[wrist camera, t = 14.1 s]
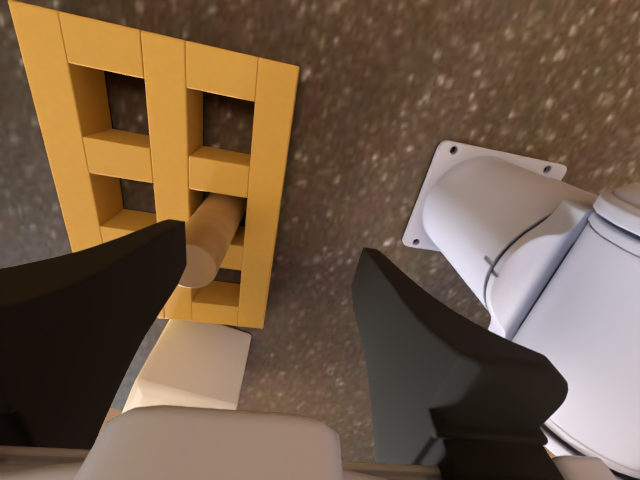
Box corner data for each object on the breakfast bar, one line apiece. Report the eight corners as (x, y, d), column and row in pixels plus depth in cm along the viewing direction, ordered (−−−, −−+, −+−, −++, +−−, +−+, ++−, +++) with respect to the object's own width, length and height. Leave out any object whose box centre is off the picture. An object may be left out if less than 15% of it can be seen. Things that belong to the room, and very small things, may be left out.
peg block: (299, 68, 17) (299, 66, 14) (266, 304, 25) (262, 329, 23) (55, 12, 15) (6, -2, 12) (109, 286, 23) (87, 311, 21)
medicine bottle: (154, 356, 28) (63, 524, 17) (176, 306, 25) (82, 472, 14) (225, 377, 30) (182, 539, 19) (253, 333, 27) (220, 496, 16)
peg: (248, 188, 20) (217, 247, 13) (245, 221, 21) (216, 291, 14) (209, 182, 20) (156, 239, 13) (209, 216, 21) (161, 285, 14)
